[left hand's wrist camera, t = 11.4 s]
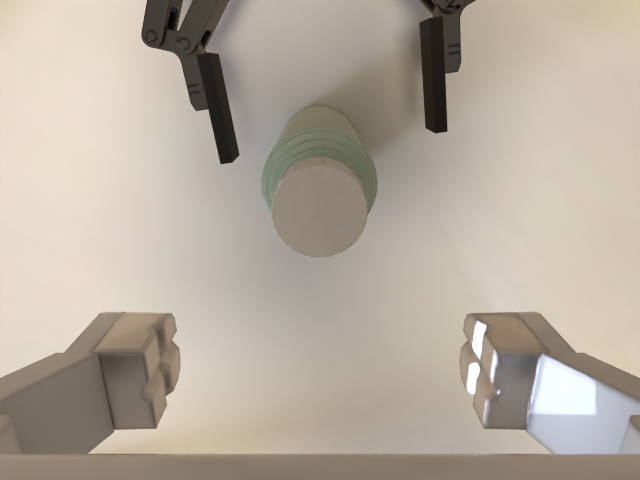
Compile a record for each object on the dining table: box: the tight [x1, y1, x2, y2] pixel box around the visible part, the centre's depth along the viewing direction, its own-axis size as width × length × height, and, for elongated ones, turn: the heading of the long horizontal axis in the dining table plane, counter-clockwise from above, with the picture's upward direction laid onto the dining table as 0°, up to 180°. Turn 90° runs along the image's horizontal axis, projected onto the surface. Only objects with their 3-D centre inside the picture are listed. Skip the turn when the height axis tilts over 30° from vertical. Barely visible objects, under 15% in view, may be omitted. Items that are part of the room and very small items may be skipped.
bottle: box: [261, 106, 377, 215], centre depth 27 cm, size 6×6×18 cm
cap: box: [271, 156, 368, 257], centre depth 20 cm, size 4×4×2 cm
